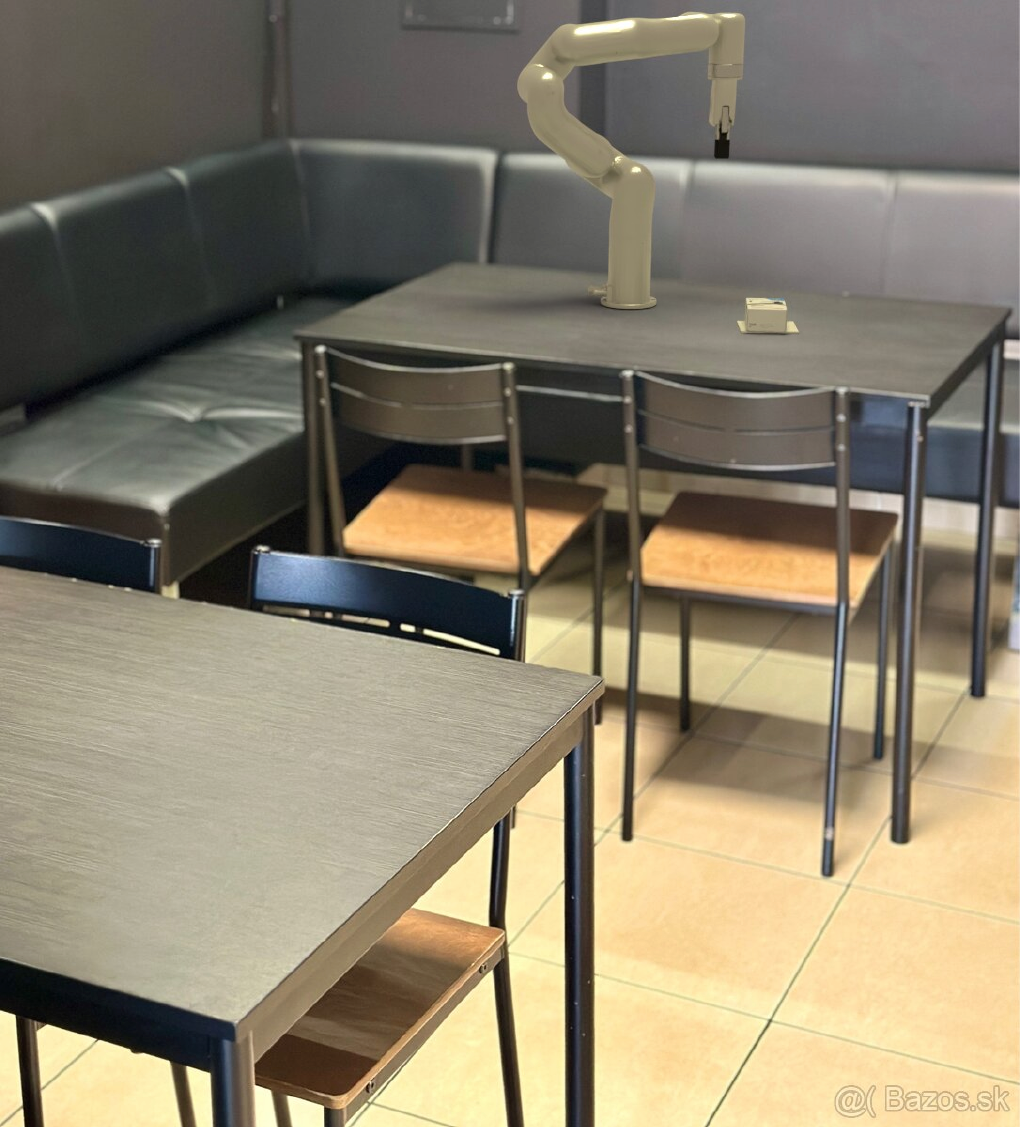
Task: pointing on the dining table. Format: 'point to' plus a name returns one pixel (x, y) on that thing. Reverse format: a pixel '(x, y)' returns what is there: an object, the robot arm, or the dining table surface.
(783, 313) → the ink box
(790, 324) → the mat
